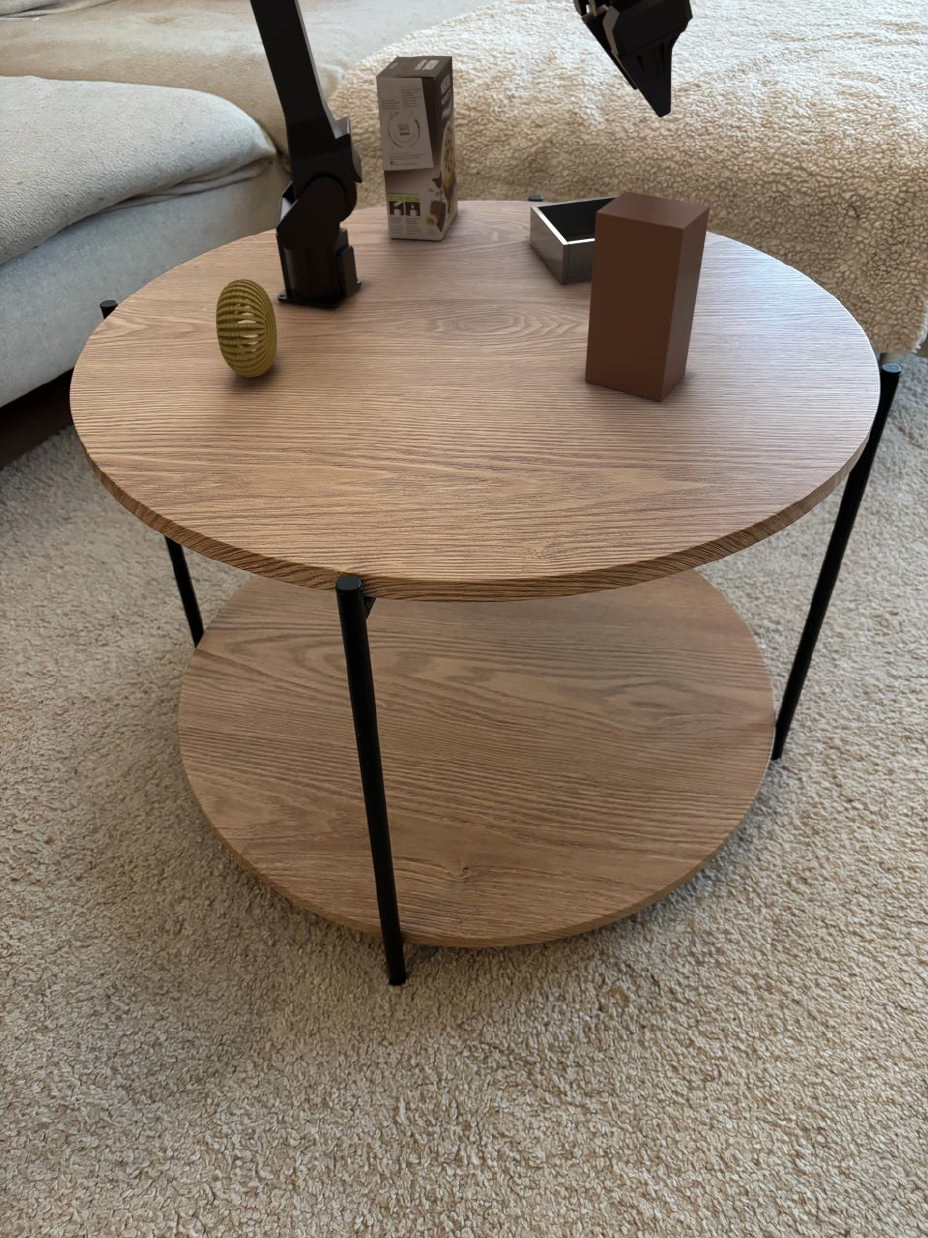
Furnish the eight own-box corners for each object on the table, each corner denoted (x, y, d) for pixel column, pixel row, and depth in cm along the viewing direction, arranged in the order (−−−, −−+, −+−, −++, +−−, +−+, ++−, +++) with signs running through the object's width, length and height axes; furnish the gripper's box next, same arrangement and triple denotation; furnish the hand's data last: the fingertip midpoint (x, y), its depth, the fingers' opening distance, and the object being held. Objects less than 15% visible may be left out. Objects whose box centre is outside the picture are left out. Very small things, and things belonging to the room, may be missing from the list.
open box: (561, 284, 91) (563, 244, 88) (529, 243, 99) (530, 205, 96) (665, 270, 93) (670, 230, 90) (625, 230, 101) (629, 193, 98)
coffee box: (443, 241, 100) (435, 76, 89) (387, 239, 101) (372, 75, 90) (460, 211, 106) (454, 53, 95) (407, 209, 108) (395, 53, 96)
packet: (584, 381, 77) (595, 211, 67) (610, 356, 80) (625, 190, 70) (660, 402, 74) (683, 228, 65) (684, 375, 77) (710, 206, 68)
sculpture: (243, 350, 83) (224, 263, 78) (286, 349, 83) (270, 262, 77) (224, 394, 77) (202, 305, 72) (270, 393, 77) (252, 303, 72)
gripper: (736, -143, 64) (774, 85, 74) (666, -160, 77) (706, 34, 87) (588, -62, 66) (644, 148, 76) (545, -93, 79) (598, 89, 90)
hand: (651, 100), depth 82 cm, fingers open, 9 cm apart
